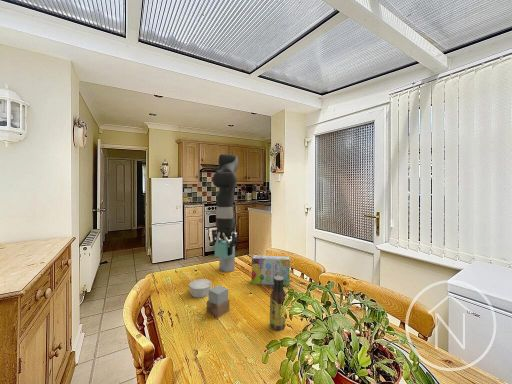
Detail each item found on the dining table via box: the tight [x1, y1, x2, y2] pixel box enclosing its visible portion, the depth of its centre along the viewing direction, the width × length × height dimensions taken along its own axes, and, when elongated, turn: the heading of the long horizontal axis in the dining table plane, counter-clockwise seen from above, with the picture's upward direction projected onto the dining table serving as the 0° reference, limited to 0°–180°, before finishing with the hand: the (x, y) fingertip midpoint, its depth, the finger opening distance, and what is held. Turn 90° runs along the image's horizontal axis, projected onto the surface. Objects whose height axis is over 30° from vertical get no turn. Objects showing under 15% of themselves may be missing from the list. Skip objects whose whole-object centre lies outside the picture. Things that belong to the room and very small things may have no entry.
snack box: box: [251, 254, 291, 287], centre depth 130 cm, size 21×6×15 cm, turn 84°
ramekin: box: [188, 278, 213, 298], centre depth 117 cm, size 11×11×5 cm
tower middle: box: [208, 284, 229, 306], centre depth 101 cm, size 6×6×5 cm
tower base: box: [206, 299, 231, 319], centre depth 101 cm, size 7×7×5 cm
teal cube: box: [214, 241, 234, 259], centre depth 103 cm, size 6×6×6 cm
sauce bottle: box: [269, 276, 287, 331], centre depth 91 cm, size 6×6×20 cm
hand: (224, 253), depth 103 cm, fingers closed on teal cube, 6 cm apart
